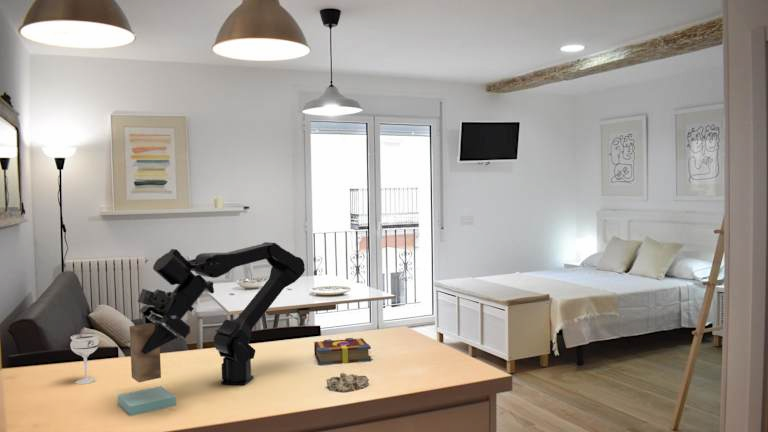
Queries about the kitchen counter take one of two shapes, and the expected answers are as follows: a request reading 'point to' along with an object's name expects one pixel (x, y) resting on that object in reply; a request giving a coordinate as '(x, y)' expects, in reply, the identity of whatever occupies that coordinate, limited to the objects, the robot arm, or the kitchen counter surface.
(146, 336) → the walnut post
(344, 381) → the mineral rock
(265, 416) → the kitchen counter surface
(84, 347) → the wineglass
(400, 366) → the kitchen counter surface
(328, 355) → the decorative book
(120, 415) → the kitchen counter surface
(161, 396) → the ceramic plinth
